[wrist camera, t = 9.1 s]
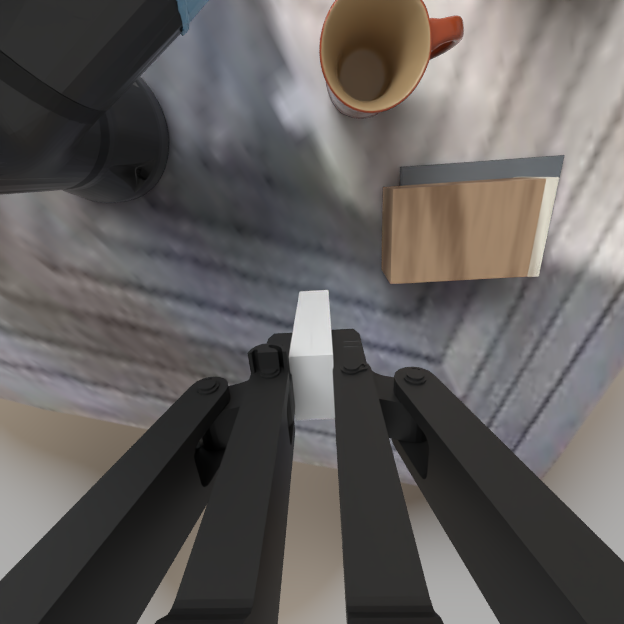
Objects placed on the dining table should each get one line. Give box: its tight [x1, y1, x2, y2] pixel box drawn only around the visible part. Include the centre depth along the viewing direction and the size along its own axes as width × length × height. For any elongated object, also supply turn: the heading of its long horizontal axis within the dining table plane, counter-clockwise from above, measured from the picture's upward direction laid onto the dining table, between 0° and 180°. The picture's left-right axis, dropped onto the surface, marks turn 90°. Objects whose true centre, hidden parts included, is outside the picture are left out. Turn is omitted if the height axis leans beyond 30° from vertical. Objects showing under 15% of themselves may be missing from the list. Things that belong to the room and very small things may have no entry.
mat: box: [400, 155, 564, 258], centre depth 40 cm, size 18×12×1 cm, turn 94°
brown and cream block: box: [382, 177, 559, 284], centre depth 37 cm, size 6×10×16 cm
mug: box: [319, 0, 464, 119], centre depth 30 cm, size 12×9×10 cm
